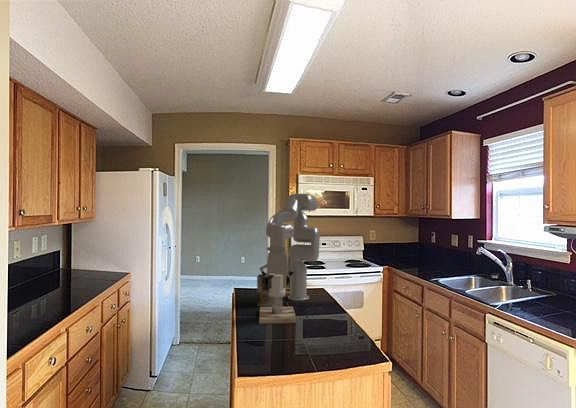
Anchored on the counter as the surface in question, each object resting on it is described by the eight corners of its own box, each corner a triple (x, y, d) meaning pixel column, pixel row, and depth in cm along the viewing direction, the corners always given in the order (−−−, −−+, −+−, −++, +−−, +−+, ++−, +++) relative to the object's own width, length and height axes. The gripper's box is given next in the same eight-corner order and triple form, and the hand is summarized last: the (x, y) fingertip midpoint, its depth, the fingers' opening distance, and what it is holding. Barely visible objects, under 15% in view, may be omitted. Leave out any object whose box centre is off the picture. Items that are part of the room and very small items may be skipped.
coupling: (267, 297, 165) (267, 278, 165) (270, 292, 176) (270, 274, 176) (289, 298, 164) (289, 279, 164) (291, 293, 175) (291, 275, 175)
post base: (260, 311, 179) (260, 291, 179) (293, 310, 180) (293, 291, 180) (259, 323, 159) (259, 301, 159) (296, 323, 160) (296, 301, 160)
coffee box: (275, 303, 194) (275, 274, 194) (273, 306, 188) (273, 276, 188) (258, 302, 195) (259, 273, 195) (256, 306, 188) (256, 276, 189)
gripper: (259, 250, 166) (259, 286, 166) (295, 250, 167) (295, 286, 167) (259, 249, 174) (259, 283, 173) (294, 249, 174) (294, 283, 174)
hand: (277, 285), depth 170 cm, fingers open, 9 cm apart
